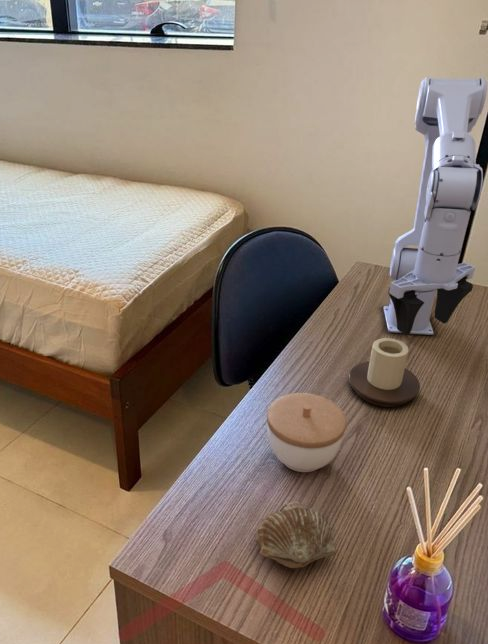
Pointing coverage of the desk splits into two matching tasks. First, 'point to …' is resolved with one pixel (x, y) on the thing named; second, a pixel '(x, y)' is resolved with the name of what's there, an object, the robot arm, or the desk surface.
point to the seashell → (295, 536)
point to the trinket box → (305, 430)
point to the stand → (382, 396)
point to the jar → (387, 363)
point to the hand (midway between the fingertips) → (422, 325)
